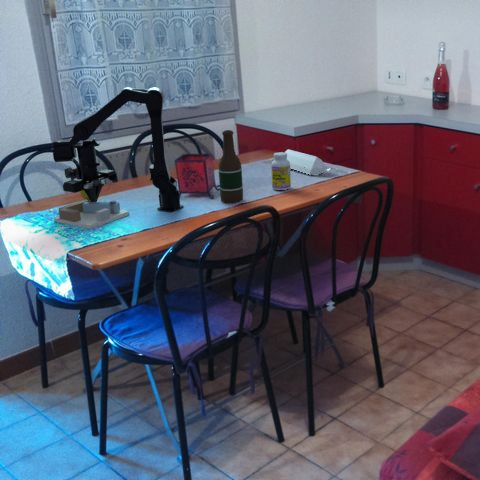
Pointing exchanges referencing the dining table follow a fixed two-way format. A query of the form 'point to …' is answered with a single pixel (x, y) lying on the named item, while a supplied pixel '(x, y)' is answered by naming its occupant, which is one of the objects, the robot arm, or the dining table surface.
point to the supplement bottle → (280, 172)
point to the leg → (101, 206)
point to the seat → (86, 216)
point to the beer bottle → (230, 171)
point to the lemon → (84, 194)
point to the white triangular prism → (305, 162)
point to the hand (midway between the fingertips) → (94, 205)
